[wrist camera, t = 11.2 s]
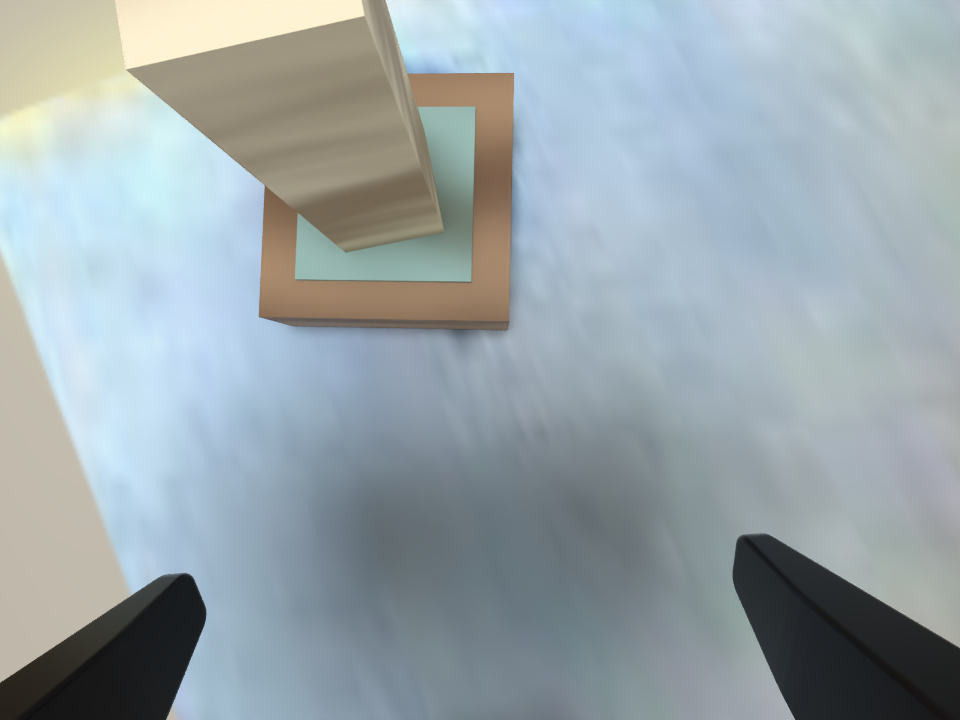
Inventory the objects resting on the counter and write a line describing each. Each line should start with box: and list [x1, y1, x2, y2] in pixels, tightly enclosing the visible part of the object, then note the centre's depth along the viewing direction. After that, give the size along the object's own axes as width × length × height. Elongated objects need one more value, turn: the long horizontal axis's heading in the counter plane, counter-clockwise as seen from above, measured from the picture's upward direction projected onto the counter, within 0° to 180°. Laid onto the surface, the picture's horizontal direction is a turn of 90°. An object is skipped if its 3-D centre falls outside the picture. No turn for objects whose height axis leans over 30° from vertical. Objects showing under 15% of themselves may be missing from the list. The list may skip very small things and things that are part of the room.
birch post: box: [115, 0, 444, 253], centre depth 13 cm, size 4×4×10 cm
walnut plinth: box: [259, 73, 514, 330], centre depth 19 cm, size 10×10×3 cm
